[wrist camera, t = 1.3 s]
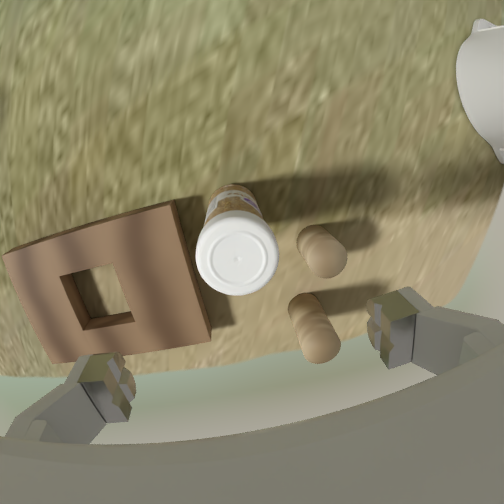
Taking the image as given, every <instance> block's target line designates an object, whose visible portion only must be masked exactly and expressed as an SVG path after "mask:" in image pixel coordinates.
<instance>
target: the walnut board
mask: <svg viewBox="0 0 504 504" xmlns="http://www.w3.org/2000/svg"><path fill="white" fill-rule="evenodd" d="M2 258H3V261H4V263H5V266H6V269H7V271H8V274H9V276H10V279H11V281H12V283H13V286H14V288H15V291H16V293H17V295H18V297H19V300H20V302H21V304H22V306H23V308H24V311H25V313H26V315H27V317H28V319H29V321H30V323H31V325H32V327H33V329H34V331H35V333H36V335H37V337H38V339H39V340H40V342H41V344H42V346H43V348H44V350H45V352H46V353H47V355H48V357H49V359H50V360H51V362H52V364H57V363H67V362H76V361H77V359H78V358H79V357H80V356H82V355H90V354H100V353H109V352H119V353H121V354H122V356H125V355H132V354H139V353H146V352H152V351H159V350H165V349H171V348H177V347H182V346H188V345H194V344H199V343H205V342H210V341H211V330H212V328H211V325H210V321H209V318H208V315H207V312H206V309H205V306H204V302H203V299H202V296H201V293H200V289H199V286H198V283H197V279H196V276H195V273H194V269H193V266H192V262H191V259H190V255H189V252H188V248H187V245H186V241H185V238H184V234H183V230H182V227H181V223H180V219H179V216H178V212H177V208H176V204H175V201H174V200H171V201H167V202H163V203H159V204H155V205H151V206H148V207H144V208H140V209H137V210H133V211H129V212H126V213H122V214H119V215H115V216H112V217H108V218H105V219H102V220H98V221H95V222H92V223H88V224H85V225H82V226H79V227H75V228H72V229H69V230H66V231H63V232H60V233H56V234H53V235H50V236H47V237H44V238H41V239H38V240H35V241H32V242H29V243H27V244H24V245H21V246H18V247H15V248H13V249H11V250H10V251H8V252H7V253H5V254H4V255H2ZM110 263H113V266H114V268H115V271H116V274H117V277H118V279H119V282H120V285H121V287H122V290H123V292H124V295H125V298H126V300H127V303H128V305H129V308H130V310H131V312H126V313H120V314H115V315H110V316H104V317H99V318H93V319H90V316H89V314H88V312H87V310H86V307H85V305H84V303H83V301H82V298H81V296H80V293H79V291H78V289H77V286H76V284H75V281H74V279H73V276H72V274H71V273H74V272H78V271H82V270H86V269H90V268H94V267H98V266H102V265H106V264H110Z"/></svg>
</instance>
